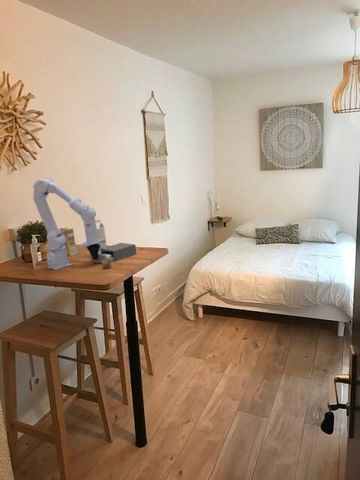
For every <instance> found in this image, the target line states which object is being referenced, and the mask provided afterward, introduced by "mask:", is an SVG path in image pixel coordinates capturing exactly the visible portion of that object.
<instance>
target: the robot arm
mask: <svg viewBox="0 0 360 480" xmlns="http://www.w3.org/2000/svg"><path fill="white" fill-rule="evenodd" d="M32 188H33V197H32V198H33V201H34V204H35V207H36V209H37V211H38V213H39V216H40V218H41V221H42V224H43V225H44V228H45V230H46V232H47V233H46V234H47V235H46V240H47V247H48V248H49V249H50V251H47V253H46V261H47V268H48V269H51V270H55V271H57V270H59V269H60V270H61V269H64V268H66V267H70V266H72V265H73V263H69V259H68V255H67V251H66V246H65V244H66V242H67V239H66V237H65V236H64V235H63V234H62V232H61V231H60V228H58V225H57V223H56V221H55V219H54V215H53V212H52V211H51V208H50V207H49V204H48V201H47V198H48V196H49V194H55V195H57V197H59V198H61V199H62V200H64V201H65V202H67V203H68V206H69V208H70V209H72V211H73V212H74V213H76V214H78V215H79V216H80V218H81V220H82V221H83V227H84V233H85V240H86V241H85V242H82V243H79V245H78V246H79V247H78V248H79V249H80V250H81V249H85V248H86V249H87V250H88V251H89V254H90V253H91V255H92V258H93V260H97V258H98V251H99V248H100V245H99V244H100V243H105V242H106V243H107V238H106V237H105V238H106V239H105V238H102V239H98V234H97V227H96V222H95V220H96V215H97V212H96V210H95V209H94V207H90V206H89V205H88V204H87V205H86V203H84V202H83V201H82V199H81V198H78V197H75V198H74V197H73V196H72V195H71V194H69V193H68V192H67V191H66V190H65V189H63V188H62V187H61V186H60V185H59V184H58V183H57V182H56V181H54V180H53V179H52V178H48V177H47V178H42V179H40V178H39V179H37V180H36V181H35V183H34V184H33V186H32Z"/></svg>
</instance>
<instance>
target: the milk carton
mask: <svg viewBox="0 0 360 480" xmlns="http://www.w3.org/2000/svg"><path fill="white" fill-rule="evenodd" d="M95 222H96V227H97V234H98V239H102V238H105V239H106V240H107V238H106V232H105V226H104V225H103V223H102V222H101V219H95ZM99 245H100V248H99V251H98V254H101V251H100V249H101V248H105V247H108V246H107V241H106V242H105V243H100V244H99Z"/></svg>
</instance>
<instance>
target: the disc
mask: <svg viewBox="0 0 360 480" xmlns="http://www.w3.org/2000/svg"><path fill="white" fill-rule="evenodd" d="M102 255H106V259H107V258H110V257H112V254H110V253H107V254H102Z"/></svg>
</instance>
